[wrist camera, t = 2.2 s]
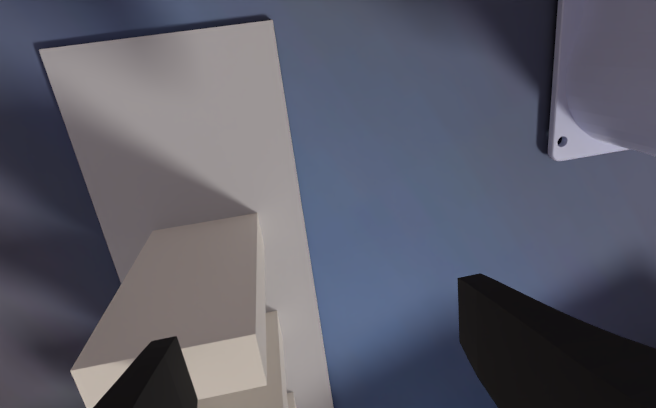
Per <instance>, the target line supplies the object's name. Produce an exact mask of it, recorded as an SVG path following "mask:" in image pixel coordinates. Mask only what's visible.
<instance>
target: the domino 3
mask: <svg viewBox="0 0 656 408" xmlns="http://www.w3.org/2000/svg"><path fill="white" fill-rule="evenodd" d="M287 402H288V408H296V403H295V398H294V393H293V392H290V393H287Z"/></svg>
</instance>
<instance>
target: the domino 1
mask: <svg viewBox="0 0 656 408" xmlns="http://www.w3.org/2000/svg"><path fill="white" fill-rule="evenodd" d="M174 336H177V338H178V341H179V344H180V347H181V350H182V353H183V356H184V359H185V362H186V365H187V368H188V371H189V374H190V377H191V380H192V383H193V386H194V389H195V392H196V395H197V398H198V400H200V399H205V398H209V397H214V396H219V395H224V394H228V393H233V392H238V391H243V390H247V389H252V388H257V387H261V386H266V385H267V354H266V307H265V260H264V243H263V238H262V233H261V228H260V223H259V218H258V213H254V214H248V215H242V216H236V217H230V218H224V219H219V220H213V221H207V222H201V223H195V224H189V225H183V226H177V227H172V228H166V229H160V230H154V231H152V233H151V234H150V236H149V238H148V240H147V241H146V243H145V245H144V246H143V248H142V250H141V251H140V253H139V255H138V257H137V258H136V260H135V262H134V263H133V265H132V267H131V268H130V270H129V272H128V274H127V275H126V277H125V279H124V280H123V282H122V284H121V285H120V287H119V289H118V290H117V292H116V294H115V296H114V297H113V299H112V301H111V302H110V304H109V306H108V307H107V309H106V311H105V313H104V314H103V316H102V318H101V319H100V321H99V323H98V324H97V326H96V328H95V330H94V331H93V333H92V335H91V336H90V338H89V340H88V341H87V343H86V345H85V346H84V348H83V350H82V352H81V353H80V355H79V357H78V358H77V360H76V362H75V363H74V365H73V367H72V369H71V370H70V372H71V374H72V376H73V378H74V381H75V383H76V385H77V387H78V390H79V392H80V394H81V396H82V399H83V401H84V403H85V405H86V408H93V407H94V406H95V405H96V404H97V403H98V401H99V400H100V399H101V398H102V397H103V396H104V395H105V393H106V392H107V391H108V390H109V389H110V388H111V387H112V385H113V384H114V383H115V382H116V381H117V380H118V379H119V377H120V376H121V375H122V374H123V373H124V372H125V370H126V369H127V368H128V367H129V366H130V365H131V363H132V362H133V361H134V360H135V359H136V358H137V356H138V355H139V354H140V353H141V352H142V351H143V350H144V349H145V347H146V346H147V345H148V344H149V343H150V342H151V341H154V340H159V339H164V338H169V337H174Z"/></svg>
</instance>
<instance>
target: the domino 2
mask: <svg viewBox="0 0 656 408" xmlns="http://www.w3.org/2000/svg"><path fill="white" fill-rule="evenodd" d="M266 354H267V385H266V386H261V387H257V388H252V389H247V390H243V391H238V392H233V393H228V394H224V395H219V396H214V397H209V398H205V399H200V400H198V404H197V408H288V402H287V389H286V376H285V363H284V350H283V338H282V333H281V328H280V323H279V318H278V313H277V311H272V312H267V313H266Z"/></svg>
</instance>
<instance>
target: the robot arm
mask: <svg viewBox="0 0 656 408" xmlns="http://www.w3.org/2000/svg"><path fill="white" fill-rule="evenodd" d="M560 137H562V141H561V143H560V144H559V145H558V143H557V142H558V139H559V138H560ZM628 149H631V150H635V151H638V152H642V153H646V154H649V155H653V156H656V0H558V9H557V23H556V38H555V52H554V67H553V81H552V96H551V110H550V125H549V140H548V156H549V157H550V158H551V159H553V160H555V161H564V160H570V159H576V158H582V157H587V156H593V155H599V154H605V153H611V152H617V151H623V150H628ZM458 304H459V338H460V344H461V346H462V348H463V350H464V352H465V354H466V356H467V358H468V360H469V362H470V364H471V365H472V367H473V369H474V371H475V373H476V375H477V377H478V378H479V380H480V381H481V383H482V384H483V386H484V387H485V389H486V390H487V392H488V393H489V395H490V396H491V398H492V399H493V401H494V402H495V404H496V405H497V407H498V408H656V349H655V348H652V347H649V346H646V345H643V344H640V343H637V342H635V341H632V340H629V339H626V338H623V337H620V336H618V335H615V334H613V333H610V332H607V331H605V330H602V329H600V328H598V327H595V326H593V325H590V324H588V323H586V322H583V321H581V320H578V319H576V318H574V317H572V316H569V315H567V314H565V313H563V312H560V311H558V310H556V309H554V308H552V307H550V306H547V305H545V304H543V303H541V302H539V301H537V300H535V299H533V298H531V297H529V296H527V295H525V294H523V293H521V292H519V291H516V290H514V289H512V288H510V287H508V286H506V285H504V284H502V283H500V282H498V281H496V280H494V279H492V278H490V277H487V276H485V275H483V274H475V275H471V276H466V277H461V278H458ZM197 404H198V398H197V395H196V392H195V389H194V386H193V383H192V380H191V377H190V374H189V371H188V368H187V365H186V362H185V359H184V356H183V353H182V350H181V347H180V344H179V341H178V338H177V336H174V337H169V338H164V339H159V340H154V341H151V342H150V343H149V344H148V345H147V346H146V347H145V349H144V350H143V351H142V352H141V353H140V354H139V355H138V356H137V358H136V359H135V360H134V361H133V362H132V363H131V365H130V366H129V367H128V368H127V369H126V370H125V372H124V373H123V374H122V375H121V376H120V377H119V379H118V380H117V381H116V382H115V383H114V384H113V385H112V387H111V388H110V389H109V390H108V391H107V392H106V393H105V395H104V396H103V397H102V398H101V399H100V400H99V401H98V403H97V404H96V405H95V406H94V407H93V408H197Z"/></svg>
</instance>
